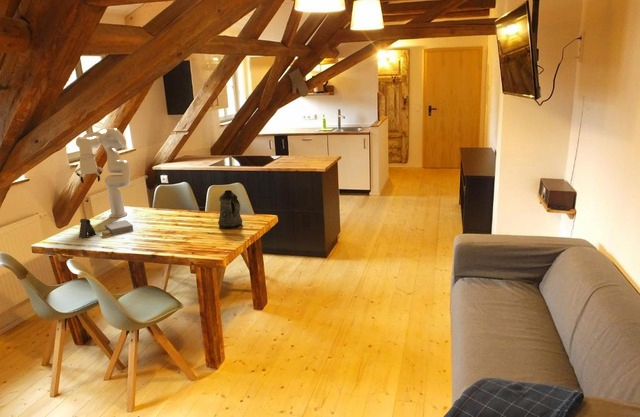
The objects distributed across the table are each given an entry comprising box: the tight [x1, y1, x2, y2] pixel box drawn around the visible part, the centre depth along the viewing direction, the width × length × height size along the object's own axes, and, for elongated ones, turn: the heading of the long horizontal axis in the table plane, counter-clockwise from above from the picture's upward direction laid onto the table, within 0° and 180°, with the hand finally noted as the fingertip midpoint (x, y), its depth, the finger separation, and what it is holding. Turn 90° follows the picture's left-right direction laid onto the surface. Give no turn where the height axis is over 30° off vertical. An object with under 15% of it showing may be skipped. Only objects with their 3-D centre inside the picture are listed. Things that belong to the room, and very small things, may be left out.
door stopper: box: [78, 218, 97, 240], centre depth 309 cm, size 9×6×12 cm, turn 152°
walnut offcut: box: [101, 230, 112, 238], centre depth 310 cm, size 5×4×3 cm
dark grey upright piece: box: [217, 189, 243, 230], centre depth 320 cm, size 16×19×25 cm
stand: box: [104, 219, 134, 236], centre depth 321 cm, size 16×14×4 cm
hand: (90, 182), depth 313 cm, fingers open, 9 cm apart
